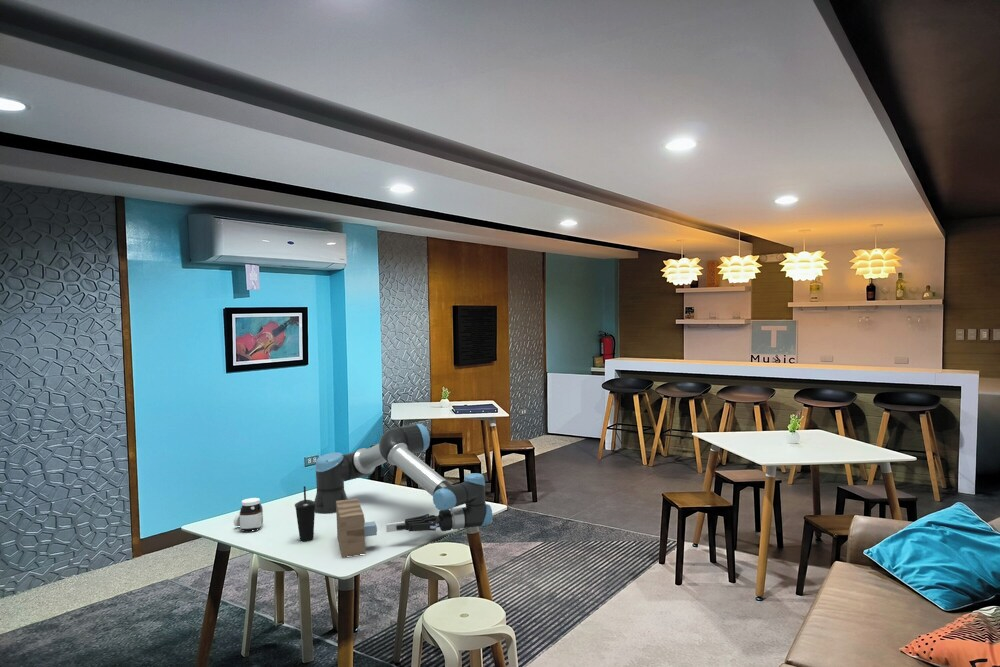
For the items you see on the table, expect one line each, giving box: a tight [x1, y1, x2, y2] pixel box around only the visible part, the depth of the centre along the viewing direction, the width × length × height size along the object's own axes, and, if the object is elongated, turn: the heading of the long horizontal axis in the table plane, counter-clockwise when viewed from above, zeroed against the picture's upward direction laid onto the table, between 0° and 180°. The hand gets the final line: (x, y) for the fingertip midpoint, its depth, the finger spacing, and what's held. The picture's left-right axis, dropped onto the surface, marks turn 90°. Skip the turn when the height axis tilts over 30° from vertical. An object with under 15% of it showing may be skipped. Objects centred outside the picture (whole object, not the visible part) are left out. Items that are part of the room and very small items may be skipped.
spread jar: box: [233, 497, 264, 532], centre depth 255 cm, size 12×11×12 cm
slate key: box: [364, 520, 378, 538], centre depth 227 cm, size 5×6×4 cm
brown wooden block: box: [335, 498, 366, 558], centre depth 230 cm, size 22×8×14 cm, turn 18°
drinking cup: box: [294, 486, 316, 543], centre depth 239 cm, size 8×8×20 cm
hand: (386, 527), depth 229 cm, fingers closed
